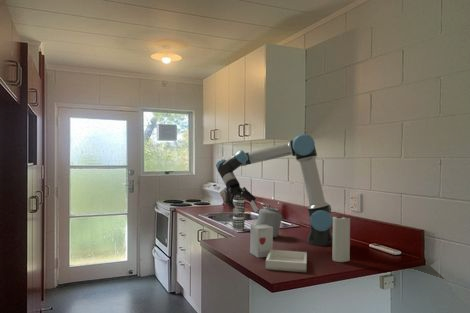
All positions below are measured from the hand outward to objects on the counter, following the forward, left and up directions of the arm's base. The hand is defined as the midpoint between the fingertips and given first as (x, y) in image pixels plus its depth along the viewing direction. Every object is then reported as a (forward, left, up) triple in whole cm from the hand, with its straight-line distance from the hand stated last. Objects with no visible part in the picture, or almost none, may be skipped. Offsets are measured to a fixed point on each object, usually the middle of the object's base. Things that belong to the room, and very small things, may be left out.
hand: (247, 212), depth 184 cm
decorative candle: (+15, -51, -21) cm, 57 cm away
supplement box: (-9, +7, -21) cm, 24 cm away
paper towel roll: (-48, +8, -21) cm, 53 cm away
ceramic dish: (-23, +20, -21) cm, 37 cm away
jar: (-9, -34, -21) cm, 41 cm away
